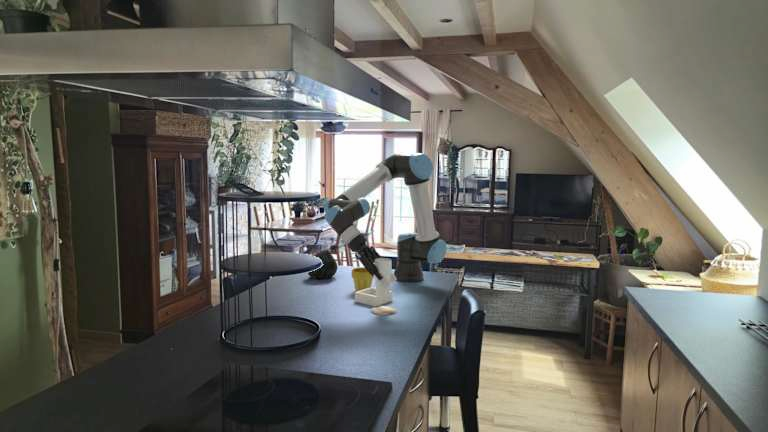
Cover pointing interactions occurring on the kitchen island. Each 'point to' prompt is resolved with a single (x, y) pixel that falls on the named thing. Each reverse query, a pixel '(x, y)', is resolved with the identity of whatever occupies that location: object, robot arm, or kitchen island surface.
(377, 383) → the kitchen island surface
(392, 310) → the wooden coaster
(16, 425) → the kitchen island surface
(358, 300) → the square holder
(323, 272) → the squash
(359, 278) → the plant pot
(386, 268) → the white cup
